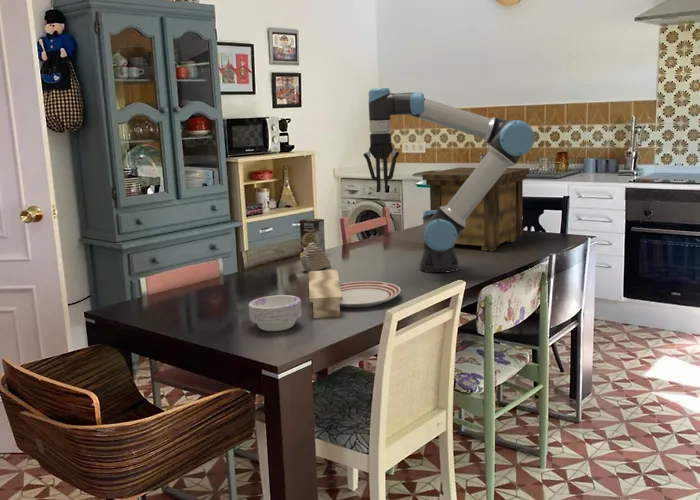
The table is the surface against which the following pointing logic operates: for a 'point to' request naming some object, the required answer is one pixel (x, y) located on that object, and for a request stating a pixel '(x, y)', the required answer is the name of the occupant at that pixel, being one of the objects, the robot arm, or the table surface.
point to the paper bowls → (275, 312)
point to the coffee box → (312, 233)
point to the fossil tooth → (314, 258)
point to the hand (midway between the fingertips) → (382, 199)
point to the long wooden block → (325, 293)
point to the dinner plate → (367, 293)
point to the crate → (483, 205)
